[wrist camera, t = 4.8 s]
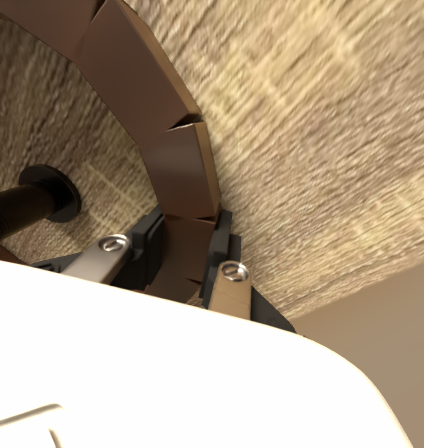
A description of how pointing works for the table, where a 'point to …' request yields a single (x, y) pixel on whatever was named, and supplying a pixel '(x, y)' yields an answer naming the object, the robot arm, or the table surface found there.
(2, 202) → the hook post
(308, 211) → the table surface
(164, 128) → the hoop
